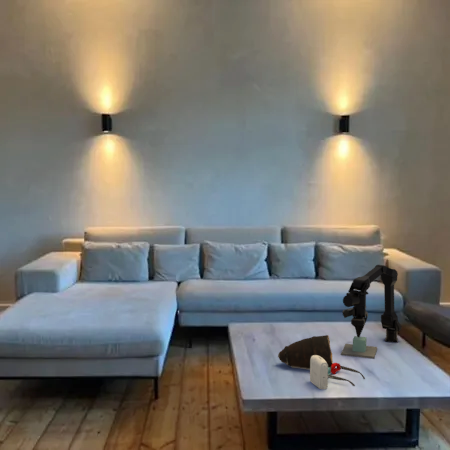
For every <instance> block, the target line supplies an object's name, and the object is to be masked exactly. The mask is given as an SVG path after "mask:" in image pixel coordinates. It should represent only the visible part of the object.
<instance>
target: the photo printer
mask: <svg viewBox="0 0 450 450" xmlns="http://www.w3.org/2000/svg"><path fill="white" fill-rule="evenodd" d="M309 381H310V382H311V384H313V385H314V386H315V387H317V389H320V390H327V388H328V384H329V378H328V364H327V362H326V361H325V360H324V359H323V358H322V357H320V356H318V355H313V356H312V357H311V359H310V370H309Z"/></svg>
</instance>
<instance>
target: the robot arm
mask: <svg viewBox="0 0 450 450" xmlns="http://www.w3.org/2000/svg"><path fill="white" fill-rule="evenodd" d="M398 275H399V273H398V271H397V270H396V269H394V268H390V267H388V266H387V265H384V264H376V265H375V266H374V267H373V268H372V269H371V270H369V271H368V272H367V273H365V274H364V275H363V276H362V275H361V276H359V277H356V278H354V279H353V280H352V282H351V285H350V287H349V290H348V292H346V293H345V295H344V296H343V299H342V304H343V305H344V306H345V308H346V307H347V308H346V309H343V310H342V316H343V318H344V319H346V318H349V317H352V318H351V320H350V324H351V326H353V327H354V329H355V333H356V336H357V337H361V334H362V332H363V329H364V327H365V325H366V324H367V320H368V316H369V312H368V311H366V309H367V295H369V292H368V290H369V288H371V283H373V282H374V281H375V280H376V279H378V278H379V277H380V280H381V282H382V284H383V288H384V293H383V294H384V312H382V313H383V314H381V315H380V323H381V327H382V329H383V330H386V331H385V339H384V342H387V343H388V342H389V343H398V342H399V341H398V340H399V338H398V332H400V331H402V327H403V326H402V325H401V323H400V322H399V317H398V315H397V314H396V311H395V284H396V283H397V281H398ZM349 307H350V308H349Z"/></svg>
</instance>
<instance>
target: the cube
mask: <svg viewBox="0 0 450 450" xmlns="http://www.w3.org/2000/svg"><path fill="white" fill-rule="evenodd" d="M352 344H353V351H356V352H365V351H366V346H367V336H360V337H357V335H354V336H353V338H352Z"/></svg>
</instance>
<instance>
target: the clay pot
mask: <svg viewBox="0 0 450 450" xmlns="http://www.w3.org/2000/svg"><path fill="white" fill-rule="evenodd" d="M331 348H332V347H331V340H330V336H329V334H328V335H327V334H325V335H319V336H318V335H317V336H316V335H314V336H312V337H307V338H302V339H300V340H297V341H295V342H294V341H293V342H292V343H291V344H289V345H285V346H284V348H283V349H282V350H281V351H279V352H278V354H277V358H278V359H279V360H280V361H281V363H284V364H286V366H288V367H290V368H292V369H301V370H307V371H310V359H311V357H312V356H313V355H318V356H320V357H322V358H323V359H324V360H325V361H326V362H327V364H328V367H329V368H330V367H331V365H332V364H333V363H334V361H333V353H332V352H333V351H332V349H331Z"/></svg>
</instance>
